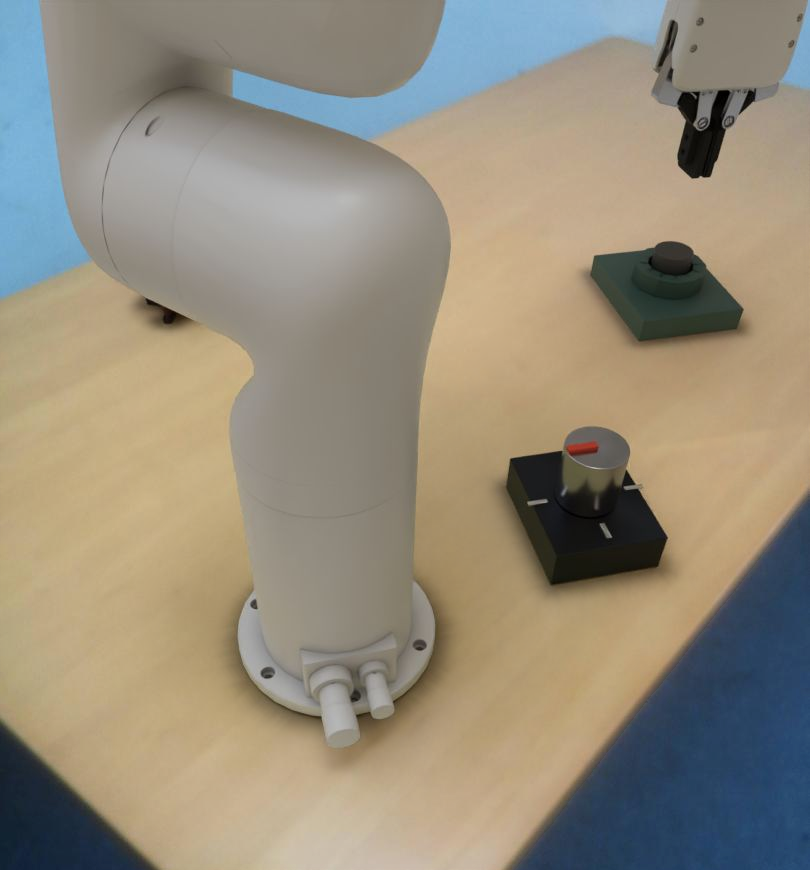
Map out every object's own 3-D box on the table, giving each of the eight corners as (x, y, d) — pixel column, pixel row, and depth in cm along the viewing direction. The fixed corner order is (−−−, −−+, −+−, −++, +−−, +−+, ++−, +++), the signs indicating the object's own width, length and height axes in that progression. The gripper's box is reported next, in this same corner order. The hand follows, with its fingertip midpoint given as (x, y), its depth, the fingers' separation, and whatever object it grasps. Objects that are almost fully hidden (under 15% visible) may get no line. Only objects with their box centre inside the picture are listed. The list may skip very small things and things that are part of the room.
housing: (737, 329, 82) (750, 291, 79) (638, 341, 80) (648, 303, 77) (680, 265, 90) (690, 228, 87) (589, 275, 88) (596, 238, 85)
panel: (662, 566, 61) (673, 535, 59) (546, 586, 60) (552, 555, 57) (607, 472, 68) (615, 440, 65) (501, 488, 66) (506, 456, 64)
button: (695, 275, 81) (700, 258, 80) (660, 279, 81) (664, 262, 79) (678, 256, 84) (683, 239, 82) (644, 259, 83) (648, 242, 82)
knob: (602, 470, 63) (615, 418, 60) (627, 512, 60) (642, 460, 57) (545, 479, 63) (555, 427, 59) (568, 522, 60) (579, 470, 56)
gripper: (825, -98, 66) (749, 148, 79) (643, -96, 63) (596, 159, 76) (885, -76, 61) (793, 184, 74) (690, -72, 58) (630, 197, 71)
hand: (693, 171), depth 75 cm, fingers closed
